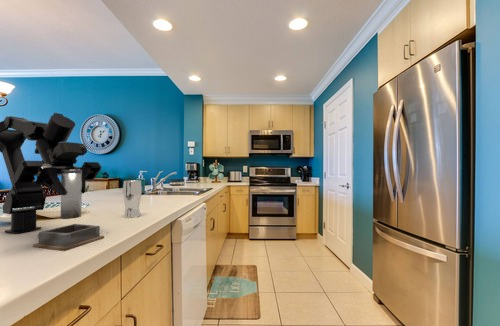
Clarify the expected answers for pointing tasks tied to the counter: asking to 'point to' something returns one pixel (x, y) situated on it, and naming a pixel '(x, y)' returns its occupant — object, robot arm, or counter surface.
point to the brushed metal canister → (71, 194)
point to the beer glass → (132, 198)
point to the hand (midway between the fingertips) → (74, 193)
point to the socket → (68, 237)
